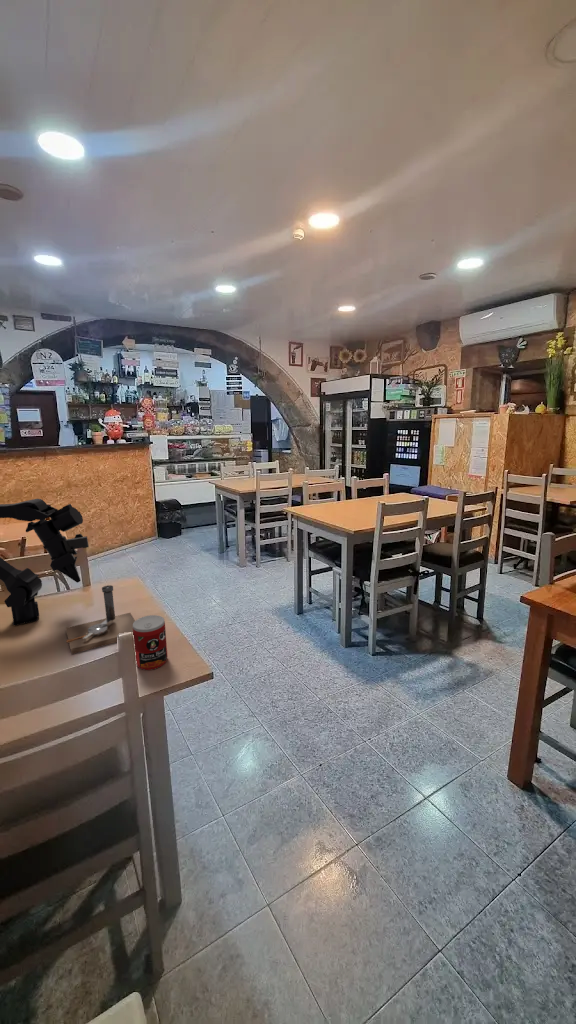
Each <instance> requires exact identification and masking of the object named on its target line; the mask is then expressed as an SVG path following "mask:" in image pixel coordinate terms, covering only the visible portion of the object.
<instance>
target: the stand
mask: <svg viewBox="0 0 576 1024" xmlns="http://www.w3.org/2000/svg"><path fill="white" fill-rule="evenodd" d="M105 620H107V619H106V617H105V618H103V619H102V618H101V619H97V620H94V621H89V622H85V623H80V624H76V625H73V626H68V627H65V630H66V631H65V632H66V637H67V639H66V641H65V642H66V643H67V644H69V649H70V654H71V655H74V654H78V653H81V652H85V651H88V650H93V649H96V648H100V647H103V646H107V645H111V644H114V643H118V642H117V635H118V634H119V633H124V632H133V623H134V622H135V621H136V619H135V618H134V616H133V615H132V612H127V613H123V614H119V615H118V614H117V615H115V619H114V620H113V621H114V622H113V623H112V624H111V625H109V626H108V627H107V629H108V631H107V632H106V633H104V634H102V635H99V636H93V637H92V638H91V639H89V640H88V641H87V642H85V641H83V637H85V636H86V635H88V628H89V627H91V626H93V625H96V624H101V623H102V622H104V621H105Z"/></svg>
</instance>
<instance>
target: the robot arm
mask: <svg viewBox="0 0 576 1024" xmlns="http://www.w3.org/2000/svg"><path fill="white" fill-rule="evenodd" d="M48 518H50V519H48ZM0 519H14V520H16V521H23V522H28V523H27V527H26V528H25V533H29V532H31V531H34V533H35V534H36V536H37V537H38V538H39V539H38V540H39V541H40V542H41V544H42V545H43V546H42V547H43V549H44V550H46V552H47V553H48V555H49V557H50V559H51V562H50V568H51V569H52V571H53V572H55V571H58V572H60V573H62V574H63V575H64V576H66V577H68V578H69V579H71V580H73V581H74V582H75V583H80V582H81V577H80V573H79V571H78V568H77V566H76V562H77V559H78V556H75V555H77V554H78V552H77V549H86V548H87V549H88V548H89V539H88V536H83V534H82V533H77V534H75V536H74V537H72V538H68V539H67V537H66V536H64V535H63V534H62V533H61V532H67V531H69V530H71V529H73V528H76V527H77V526H80V525H82V524H83V522H84V518H83V516H82V513H81V512H80V511H79V510H78V509H77V508H76V507H74V506H72V504H71V503H68V504H66V505H64V506H62V507H61V508H59V509H58V508H56V507H53V506H51V505H49V504H47V503H46V501H44V500H43V499H41V498H33V499H29V500H24V501H21V502H16V503H6V504H5V503H2V504H1V503H0ZM47 519H48V520H47ZM36 520H37V521H36ZM35 521H36V522H35ZM39 576H40V574H37V573H35V572H33V570H32V569H30V568H28V567H26V568H25V569H23V570H21V569H18V568H16V567H14V566H13V565H11V564H10V563H8V561H6V560H4V559H3V558H2V557H0V581H2V582H3V583H4V584H3V585H4V586H5V588H6V590H7V591H8V593H9V595H8V596H7V598H6V599H4V601H3V602H4V604H5V605H6V607H7V608H10V610H11V614H12V615H11V616H12V626H13V625H15V626H20V625H23V624H28V623H33V622H37V621H39V617H40V610H39V603H38V601H36V600H35V599H36V598H35V597H38V594H39V591H40V590H41V589H42V588H43V581H42V579H41V578H40V577H39Z"/></svg>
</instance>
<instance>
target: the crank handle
mask: <svg viewBox="0 0 576 1024" xmlns="http://www.w3.org/2000/svg"><path fill="white" fill-rule="evenodd" d="M113 591H114V586H113V585H109V584H108V585H104V586H102V587H101V592H102V593H103V599H104V609H105V618H106V619H107V620H105V621H104V622H102V623H101V624H96V625H93V626H91V627H89V628H88V635H86V636H85V637H83V641H85V642H87V641H88V640H89V639H91V638H92V637H93V636H99V635H102V634H104V633H106V632H107V631H108V629H107V627H108V626H109V625H111V624H112V623H113V622H114V621H113V620H114V619H115V616H116V613H115V612H116V611H115V605H114V604H115V603H114V602H115V601H114V593H113Z"/></svg>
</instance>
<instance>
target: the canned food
mask: <svg viewBox="0 0 576 1024" xmlns="http://www.w3.org/2000/svg"><path fill="white" fill-rule="evenodd" d="M133 635H134V638H133V643H134V644H135V646H134V652H136V655H135V662H136V661H137V663H136V665H137V667H138V668H139V669H140V668H141V669H140V670H143V669H145V670H144V671H152V670H151V669H153V670H156V669H159V668H161V667H162V666H164V665H165V664H166V663H167V660H168V644H167V643H168V642H167V632H166V621H165V618H164V617H163V616H162V615H161V616H160V615H157V614H154V615H153V614H152V615H151V614H150V615H144V616H142V617H139V618H138V619H135V622H134V623H133ZM158 667H159V668H158ZM155 668H156V669H155Z"/></svg>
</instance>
